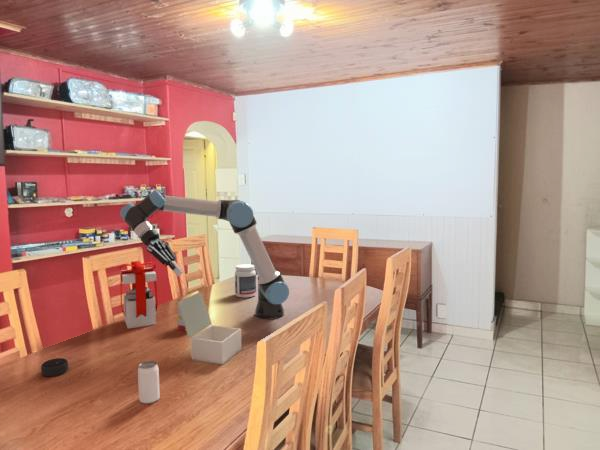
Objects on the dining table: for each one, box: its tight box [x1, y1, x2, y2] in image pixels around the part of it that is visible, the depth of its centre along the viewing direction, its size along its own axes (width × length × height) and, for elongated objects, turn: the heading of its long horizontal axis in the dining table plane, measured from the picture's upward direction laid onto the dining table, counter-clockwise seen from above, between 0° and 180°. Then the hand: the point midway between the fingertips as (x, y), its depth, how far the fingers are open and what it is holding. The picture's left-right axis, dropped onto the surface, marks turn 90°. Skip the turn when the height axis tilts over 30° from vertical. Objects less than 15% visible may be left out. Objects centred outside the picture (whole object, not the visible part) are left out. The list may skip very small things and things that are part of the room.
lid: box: [177, 291, 212, 339], centre depth 185 cm, size 15×17×1 cm
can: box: [137, 360, 161, 405], centre depth 147 cm, size 6×6×12 cm
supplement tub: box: [234, 263, 257, 299], centre depth 272 cm, size 13×13×18 cm
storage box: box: [190, 324, 242, 365], centre depth 183 cm, size 14×16×9 cm
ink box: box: [177, 305, 186, 332], centre depth 215 cm, size 9×9×12 cm
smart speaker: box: [40, 357, 69, 377], centre depth 168 cm, size 9×9×4 cm
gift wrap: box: [118, 260, 158, 329], centre depth 222 cm, size 17×17×30 cm
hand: (180, 274), depth 193 cm, fingers closed
